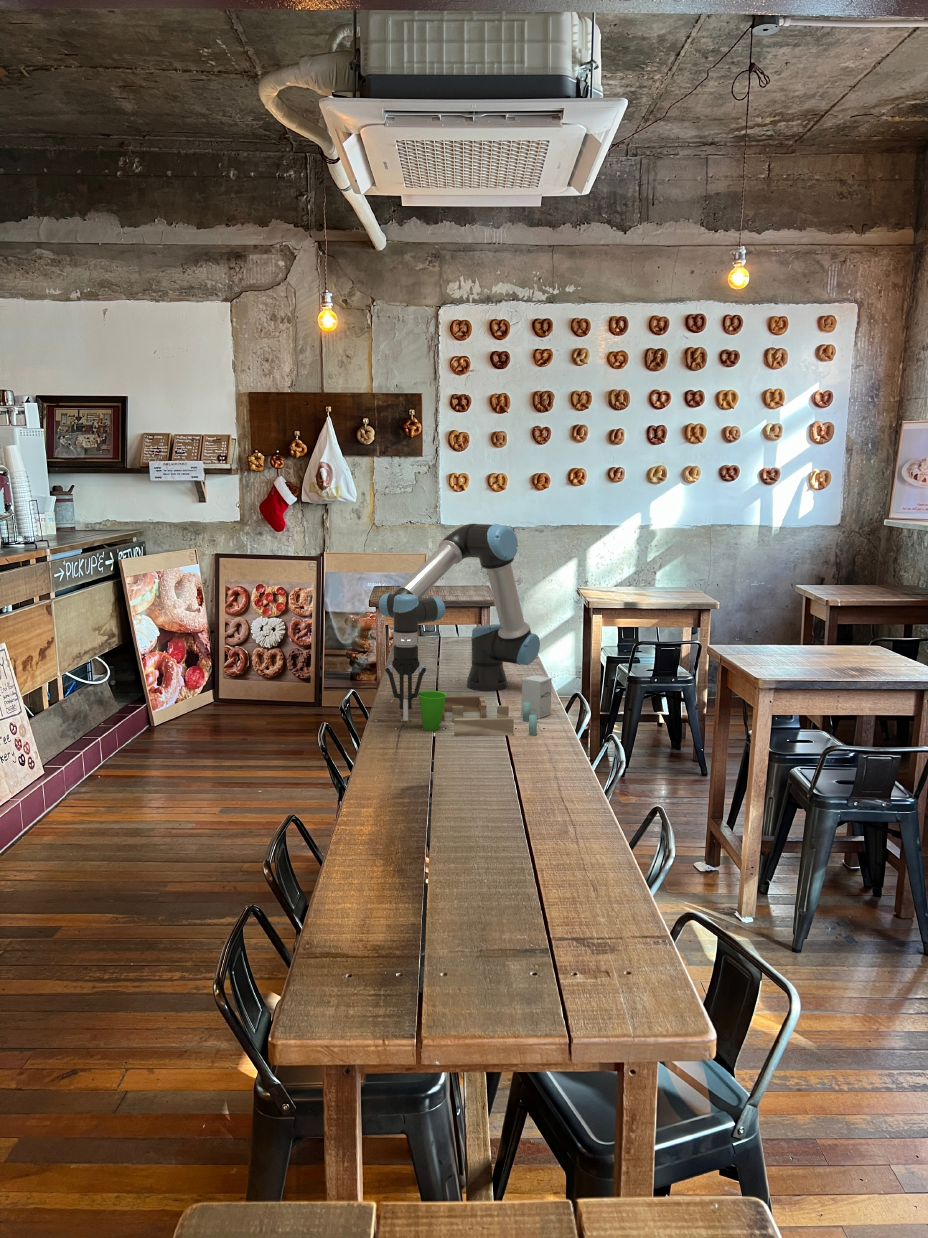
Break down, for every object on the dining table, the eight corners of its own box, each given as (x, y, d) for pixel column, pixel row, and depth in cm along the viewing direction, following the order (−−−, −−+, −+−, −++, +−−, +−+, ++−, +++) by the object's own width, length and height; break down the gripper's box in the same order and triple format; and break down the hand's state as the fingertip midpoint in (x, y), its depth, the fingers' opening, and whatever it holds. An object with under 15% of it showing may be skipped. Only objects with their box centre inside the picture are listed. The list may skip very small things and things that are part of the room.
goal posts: (522, 719, 282) (522, 701, 281) (529, 719, 282) (530, 701, 281) (529, 735, 265) (529, 716, 264) (537, 735, 265) (537, 716, 264)
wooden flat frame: (438, 710, 292) (438, 696, 292) (504, 710, 294) (504, 695, 293) (441, 736, 264) (441, 720, 264) (513, 735, 266) (513, 719, 265)
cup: (441, 734, 267) (443, 699, 265) (413, 731, 269) (414, 696, 267) (448, 726, 276) (449, 692, 274) (420, 723, 277) (421, 689, 275)
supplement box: (539, 719, 283) (540, 681, 281) (520, 715, 287) (521, 678, 285) (551, 714, 288) (552, 677, 286) (532, 710, 293) (533, 674, 291)
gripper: (384, 647, 263) (384, 722, 267) (427, 647, 264) (426, 722, 268) (385, 642, 271) (385, 716, 274) (426, 642, 271) (426, 716, 275)
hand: (405, 719), depth 271 cm, fingers closed
